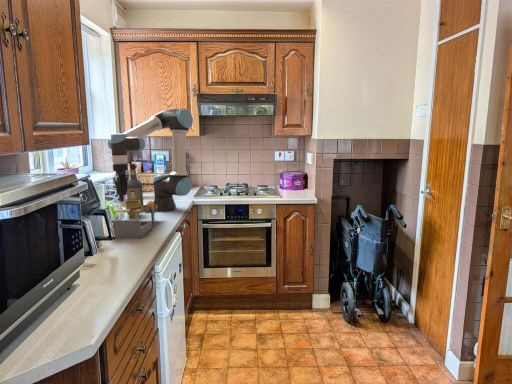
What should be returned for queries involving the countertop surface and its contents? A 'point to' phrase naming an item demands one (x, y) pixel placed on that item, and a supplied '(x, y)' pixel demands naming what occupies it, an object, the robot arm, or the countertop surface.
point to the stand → (151, 217)
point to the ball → (150, 203)
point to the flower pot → (132, 204)
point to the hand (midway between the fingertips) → (123, 206)
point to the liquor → (134, 187)
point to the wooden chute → (139, 209)
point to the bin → (131, 228)
